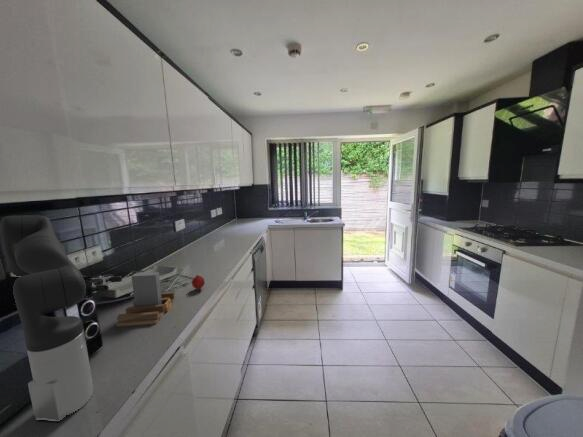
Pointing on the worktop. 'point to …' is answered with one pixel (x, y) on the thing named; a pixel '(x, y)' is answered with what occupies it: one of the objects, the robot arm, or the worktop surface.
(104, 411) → the worktop surface
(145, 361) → the worktop surface
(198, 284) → the onion
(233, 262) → the worktop surface
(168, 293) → the rack
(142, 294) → the panel
